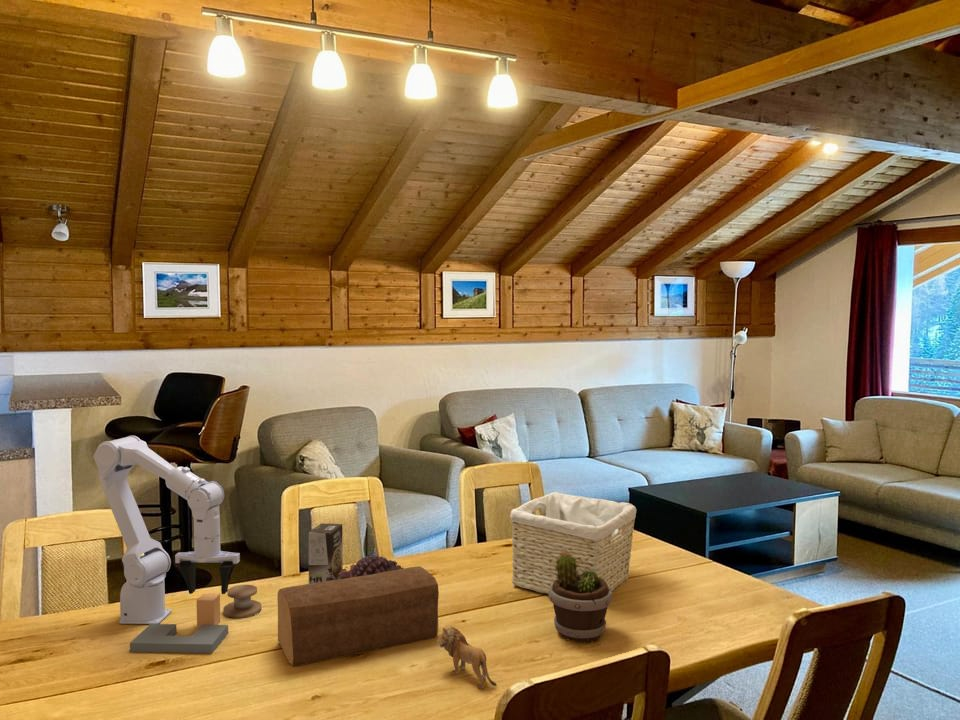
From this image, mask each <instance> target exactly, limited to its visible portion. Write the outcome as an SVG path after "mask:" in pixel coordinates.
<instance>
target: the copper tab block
mask: <svg viewBox="0 0 960 720" xmlns="http://www.w3.org/2000/svg"><path fill="white" fill-rule="evenodd" d="M219 623H220V624H221V593H202V594H201V595H200V596H199V597H198V598H197V599H196V630H198V629H199V628H200V627H201V625H218V624H219ZM220 624H219V625H220Z"/></svg>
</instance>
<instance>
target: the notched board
mask: <svg viewBox="0 0 960 720" xmlns="http://www.w3.org/2000/svg"><path fill="white" fill-rule="evenodd" d="M177 632H178V631H177V623H159V624H148V626H147V627H146V628H144V629H143V630H142V631H141V632H140V633H139V634H138V635H137V636H136V637H135V638H134V639H133V640H131V642H129V652H130V653H164V652H174V654H175V652H178V653H177V654H179V653H180V652H182V653H181V654H213V653H214V652H215V651H216V650H217V648H218V647H219V646H220V645H221V643H222V642H223V641H224V639H225V638H226V637H227V636H228V634H229V625H228V624H219V625H201V627H200V628H199V629H196V631H195V632H194V633H193V634H192V635H176V634H177ZM226 635H227V636H226ZM222 640H223V641H222ZM218 645H219V646H218ZM214 650H215V651H214Z"/></svg>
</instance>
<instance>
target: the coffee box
mask: <svg viewBox="0 0 960 720" xmlns="http://www.w3.org/2000/svg"><path fill="white" fill-rule="evenodd" d="M343 550H344V549H343V524H342V523H323V522H321V523H320V524H319V525H317V526H315V527H314V528H313V529H311V530H309V531H308V584H312V583H319V582H325V581H331V580H339V579H341V578H340V576H337V574H339V573H341V571H342V570H343V569H344V568H343V565H344V564H343Z"/></svg>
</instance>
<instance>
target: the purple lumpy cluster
mask: <svg viewBox="0 0 960 720" xmlns="http://www.w3.org/2000/svg"><path fill="white" fill-rule="evenodd" d="M349 567H350V569H349V570H347V568H343V570H342V571H341V573H339V574H337V576H340V578H341V579H346V578H351V577H358V576H365V575H372V574H377V573H382V572H388V571H393V570H399V569H405V567H402V566H401V565H398V562H396V561H395V560H392V559H387V558H386V557H383V556H382V555H381V556H378V555H374V554H373V555H368V556H367V555H366V556H365V557H362V558H360V559H359V560H358V561H357V562H356V563H353V564H351V565H349Z"/></svg>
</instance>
